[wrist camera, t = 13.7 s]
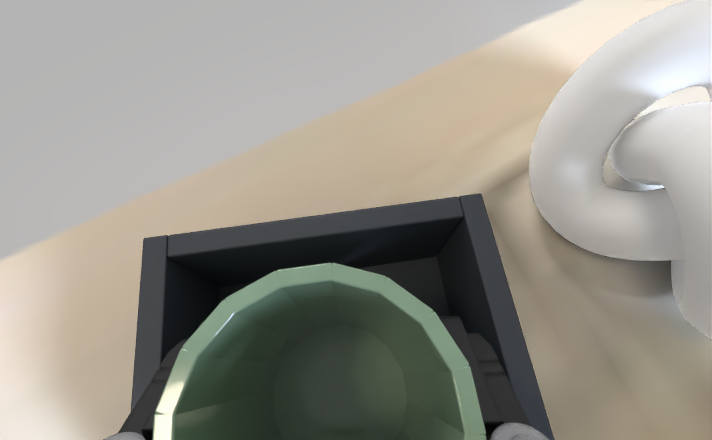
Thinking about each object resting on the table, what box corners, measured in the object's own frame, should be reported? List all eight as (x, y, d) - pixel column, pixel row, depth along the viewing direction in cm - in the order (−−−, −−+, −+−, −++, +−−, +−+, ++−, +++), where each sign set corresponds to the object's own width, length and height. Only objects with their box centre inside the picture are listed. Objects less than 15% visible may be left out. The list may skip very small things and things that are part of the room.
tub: (446, 242, 18) (482, 192, 13) (518, 535, 14) (613, 636, 9) (207, 276, 18) (143, 237, 12) (204, 590, 13) (105, 734, 8)
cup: (399, 309, 16) (442, 246, 8) (427, 468, 14) (529, 611, 6) (263, 328, 16) (160, 284, 8) (270, 493, 14) (137, 683, 5)
